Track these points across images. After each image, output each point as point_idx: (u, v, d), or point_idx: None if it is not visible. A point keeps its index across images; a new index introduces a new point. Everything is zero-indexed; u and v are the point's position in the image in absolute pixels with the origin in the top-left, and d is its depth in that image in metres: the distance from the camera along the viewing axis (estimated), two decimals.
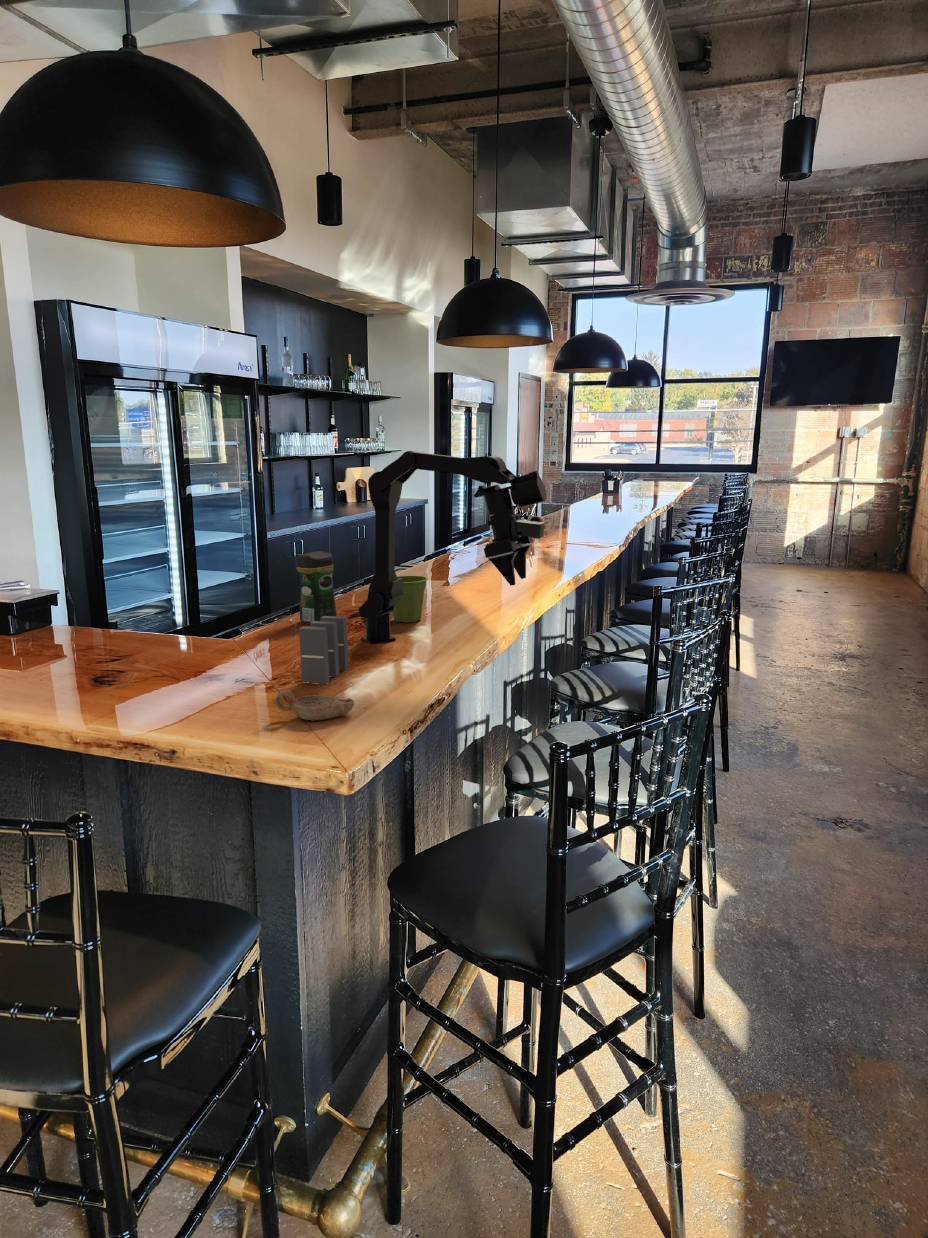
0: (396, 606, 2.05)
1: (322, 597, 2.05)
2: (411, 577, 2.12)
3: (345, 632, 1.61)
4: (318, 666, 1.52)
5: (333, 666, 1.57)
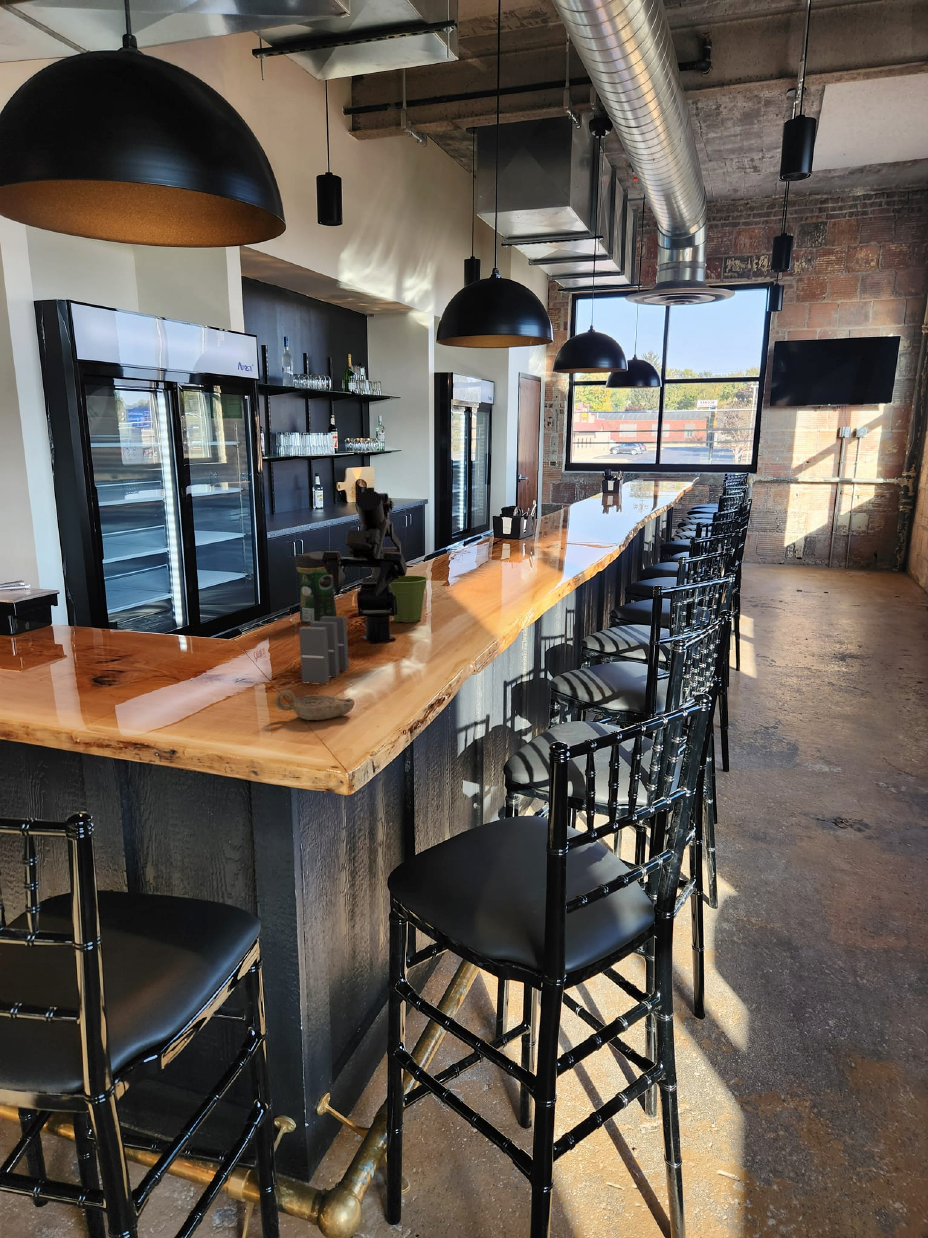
0: None
1: (322, 597, 2.05)
2: (411, 577, 2.12)
3: (345, 632, 1.61)
4: (318, 666, 1.52)
5: (333, 666, 1.57)
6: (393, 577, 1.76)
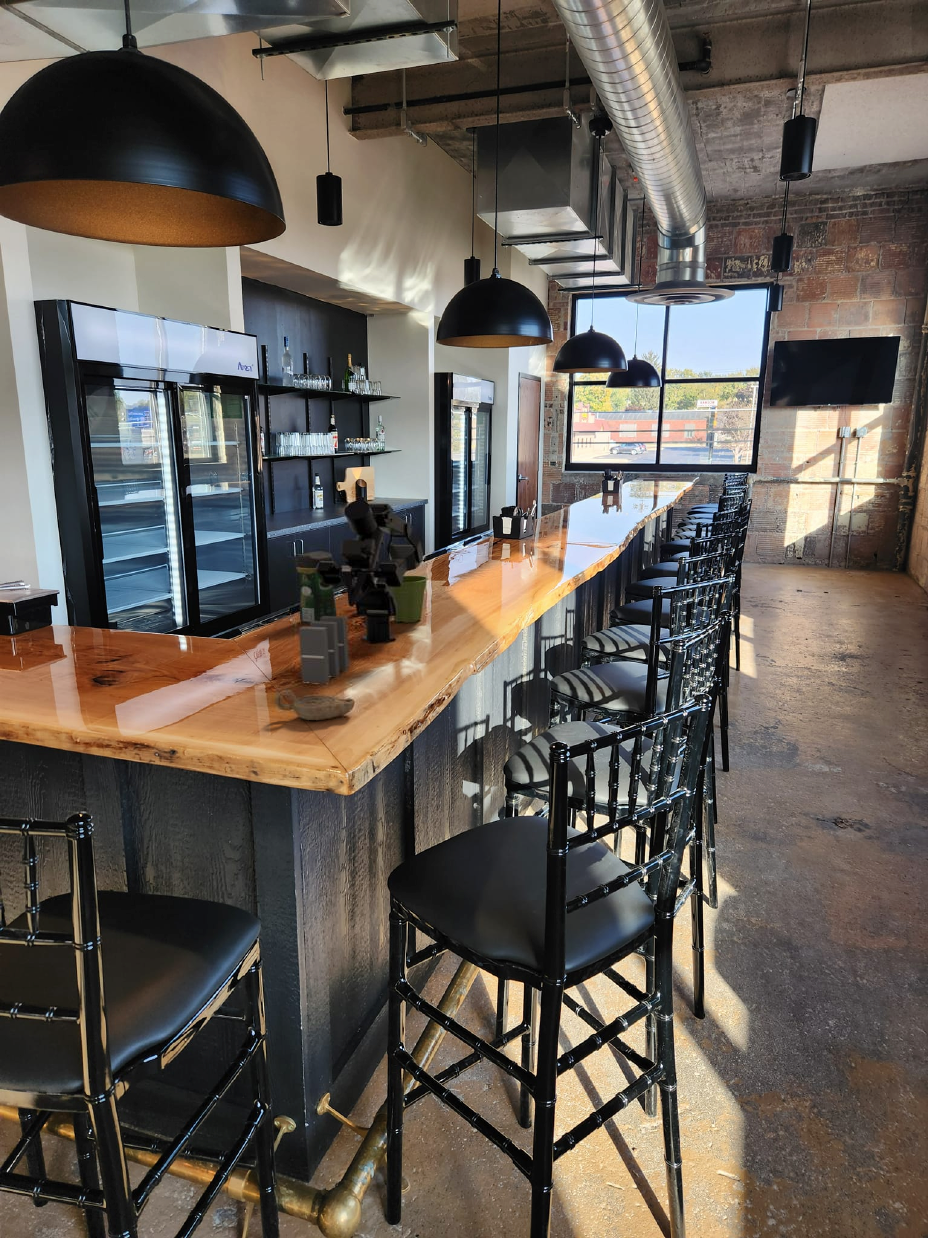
0: None
1: (322, 597, 2.05)
2: (411, 577, 2.12)
3: (345, 632, 1.61)
4: (318, 666, 1.52)
5: (333, 666, 1.57)
6: (370, 587, 1.75)
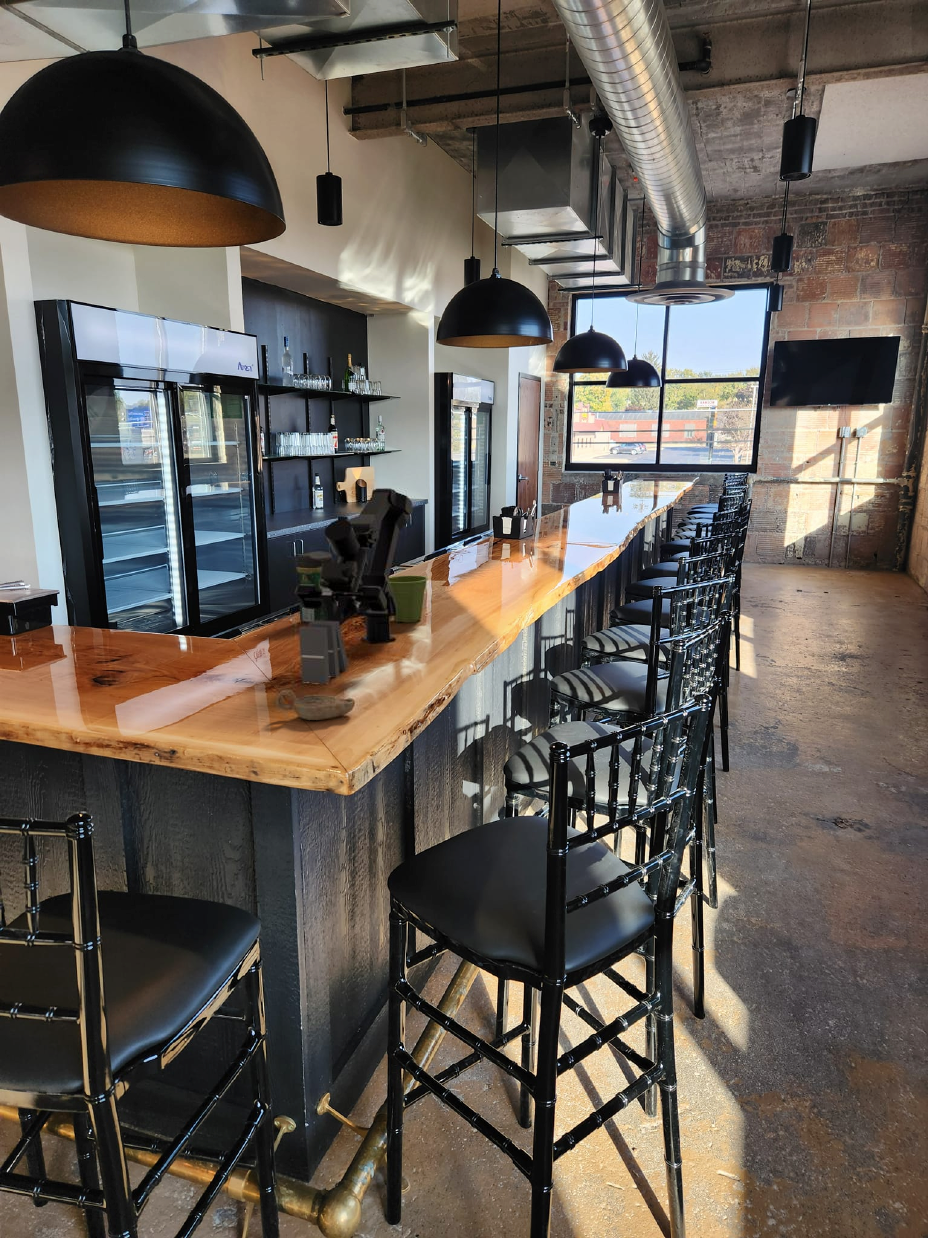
0: None
1: None
2: (411, 577, 2.12)
3: (340, 636, 1.58)
4: (318, 666, 1.52)
5: (333, 666, 1.57)
6: (352, 612, 1.65)
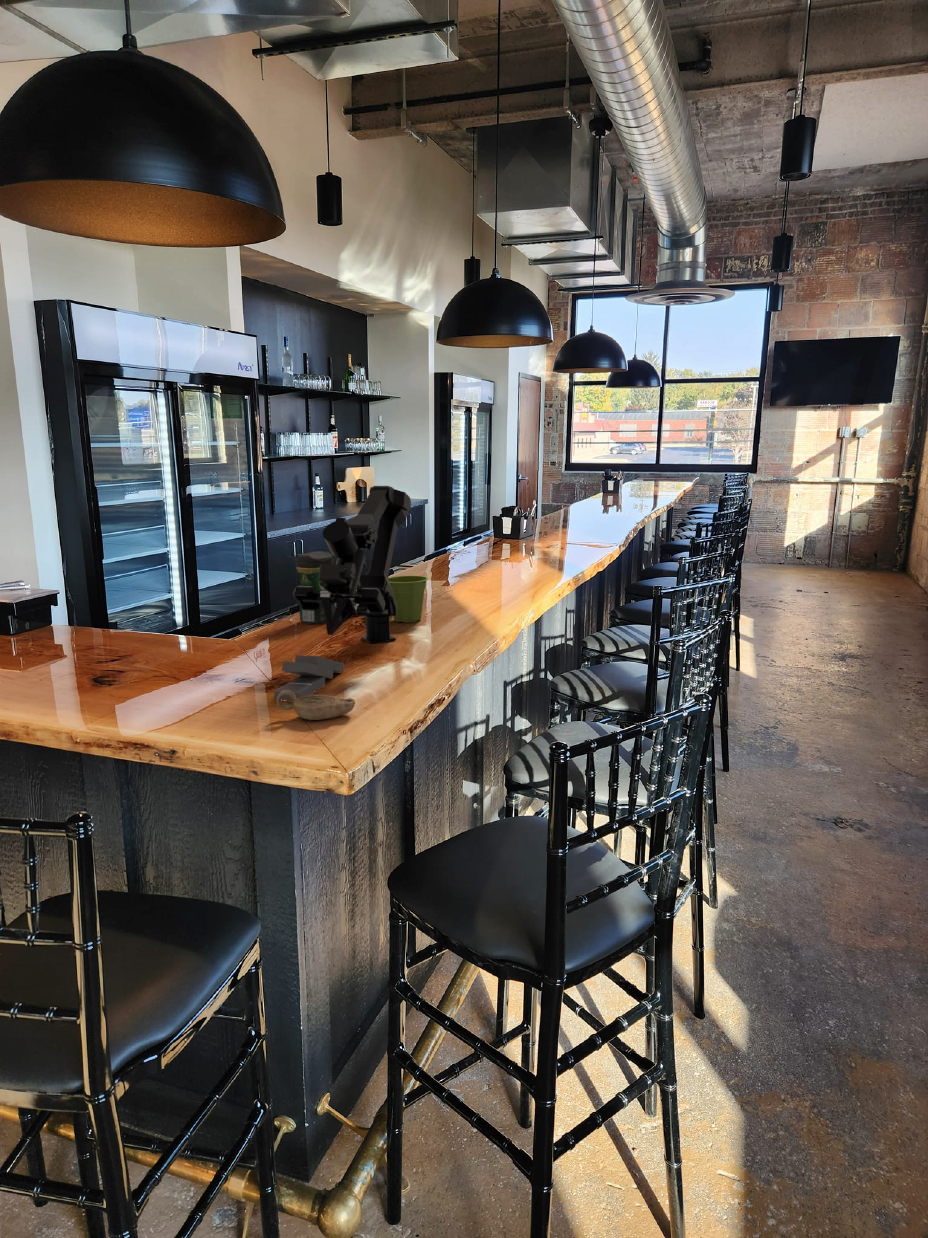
0: None
1: None
2: (411, 577, 2.12)
3: (325, 662, 1.53)
4: None
5: (325, 677, 1.54)
6: (351, 613, 1.64)
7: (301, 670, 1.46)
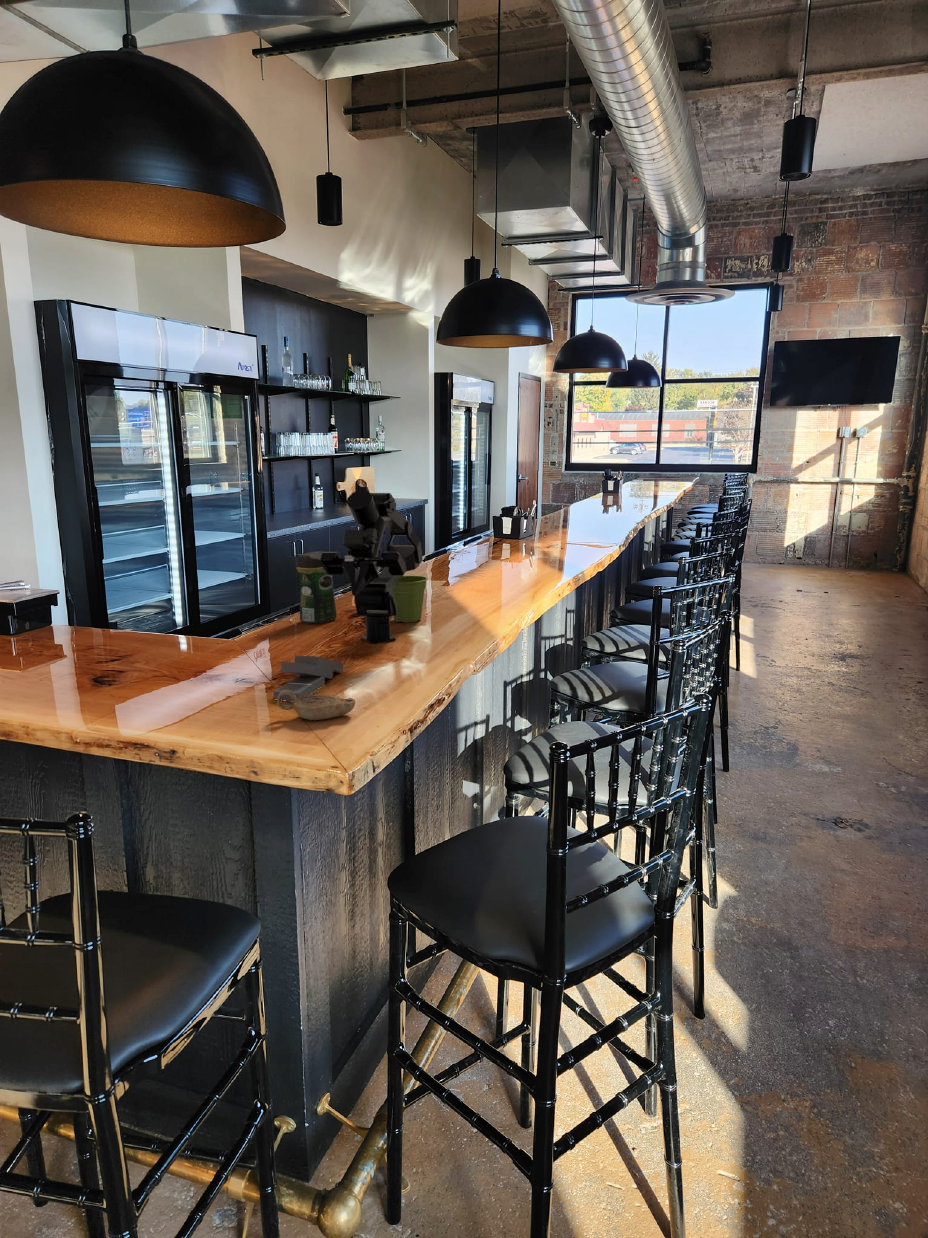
0: None
1: (322, 597, 2.05)
2: (411, 577, 2.12)
3: (325, 663, 1.53)
4: None
5: (324, 677, 1.54)
6: (373, 576, 1.76)
7: (300, 671, 1.46)
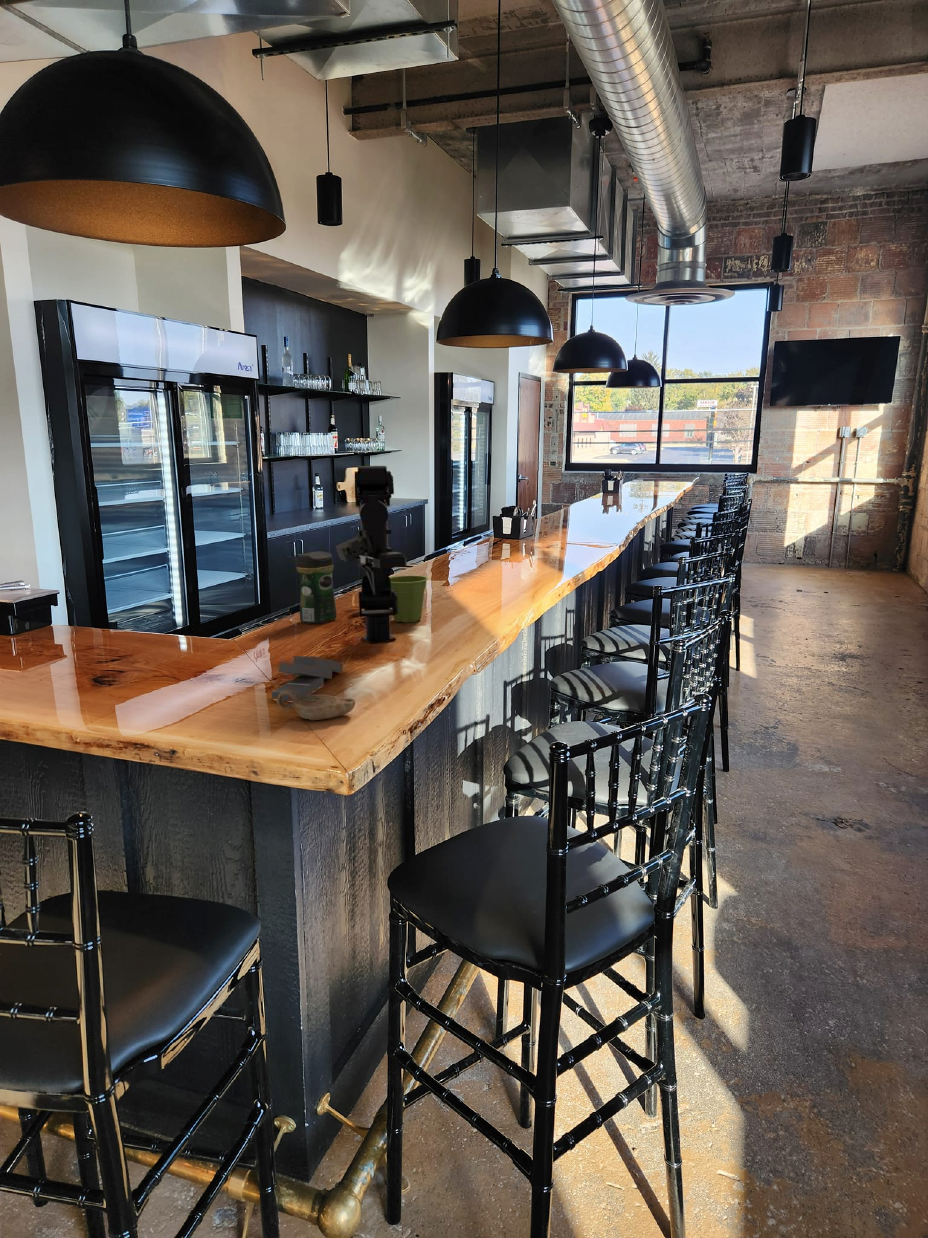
0: None
1: (322, 597, 2.05)
2: (411, 577, 2.12)
3: (323, 663, 1.53)
4: None
5: (323, 677, 1.54)
6: None
7: (297, 671, 1.46)
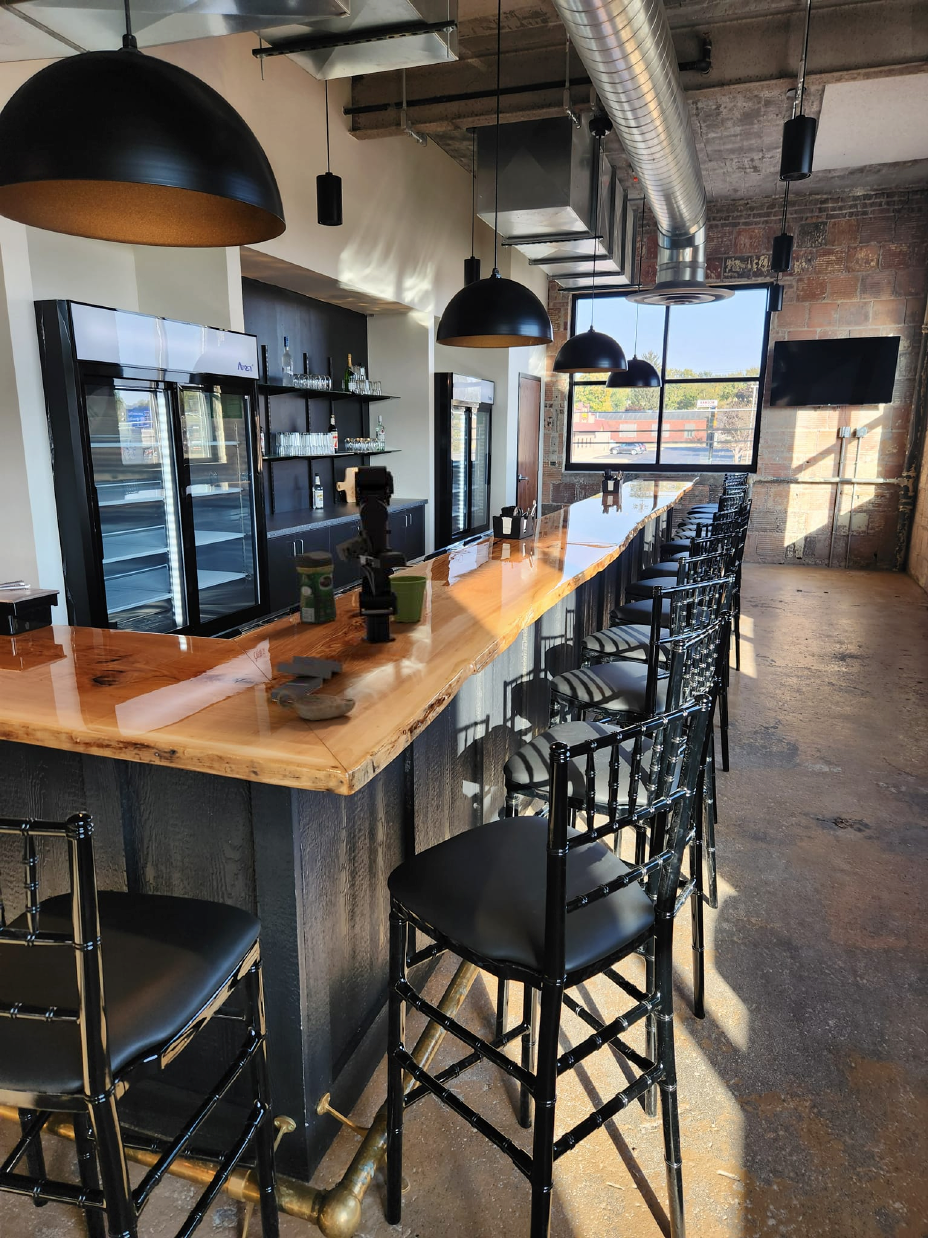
0: None
1: (322, 597, 2.05)
2: (411, 577, 2.12)
3: (323, 663, 1.53)
4: None
5: None
6: None
7: (295, 671, 1.46)
